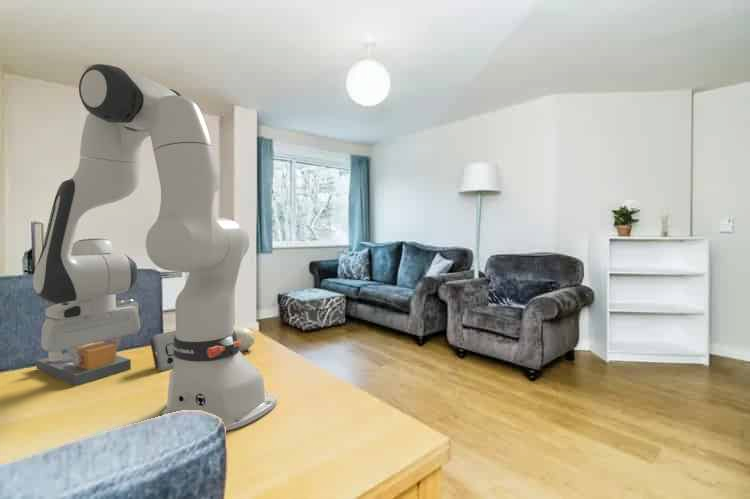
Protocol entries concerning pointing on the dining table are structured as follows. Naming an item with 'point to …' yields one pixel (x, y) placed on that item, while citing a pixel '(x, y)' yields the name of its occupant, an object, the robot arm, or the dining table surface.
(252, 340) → the baseball
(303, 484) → the dining table surface
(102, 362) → the cap
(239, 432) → the dining table surface
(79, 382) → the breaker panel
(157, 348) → the electrical switch
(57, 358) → the plain toggle
